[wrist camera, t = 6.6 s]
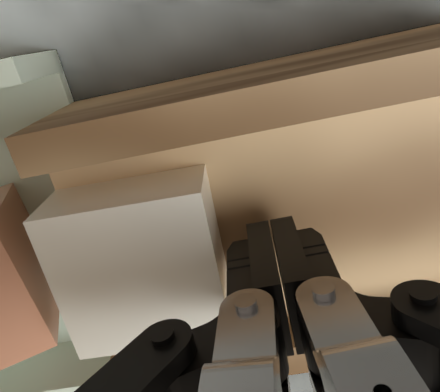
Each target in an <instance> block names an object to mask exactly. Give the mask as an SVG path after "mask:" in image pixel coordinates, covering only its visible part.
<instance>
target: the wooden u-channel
mask: <svg viewBox="0 0 440 392" xmlns="http://www.w3.org/2000/svg"><path fill="white" fill-rule="evenodd" d="M4 140H5V143H6V145H7V148H8V150H9V152H10V155H11V157H12V159H13V162H14V164H15V166H16V169H17V171H18V173H19V176H20V178H21V179H24V178H29V177H34V176H39V175H44V174H49V175H50V178H51V180H52V183H53V185H54V188H55V190H58V189H64V188H69V187H75V186H81V185H87V184H93V183H98V182H104V181H110V180H116V179H121V178H127V177H133V176H139V175H144V174H150V173H156V172H162V171H168V170H173V169H179V168H185V167H191V166H196V165H202V164H205V166H206V171H207V175H208V180H209V185H210V190H211V194H212V199H213V204H214V209H215V213H216V218H217V223H218V228H219V232H220V237H221V242H222V247H223V252H224V256H225V261H226V266H227V250H228V248H229V247H230V245H231V244H232V242H234V241H239V240H245V239H248V238H247V228H246V224H250V223H255V222H260V221H266V220H268V223H269V228H270V232H271V237H272V242H273V247H274V252H275V256H276V251H275V246H274V240H273V235H272V229H271V224H270V220H271V219H276V218H282V217H287V216H292V217H293V220H294V223H295V226H296V229H297V230H300V229H306V228H313V229H314V230H316V231H317V232H319V233H320V234H322V237H323V239H324V241H325V243H326V245H327V248H328V250H329V253H330V254H331V257H332V259H333V261H334V263H335V266H336V268H337V270H338V272H339V274H340V277H341V279H342V280H344V281H346V282H347V283H348V284H350V286H351V287H352V289H353V290H354V292H357V293H359V294H363V295H367V296H375V297H390V293H391V291H392V289H393V288H394V287H395V286H397V285H398V284H400V283H402V282H405V281H409V280H430V281H434V282H438V283H440V24H435V25H430V26H426V27H421V28H416V29H411V30H407V31H402V32H397V33H393V34H388V35H383V36H379V37H374V38H369V39H365V40H360V41H355V42H351V43H346V44H341V45H337V46H332V47H327V48H323V49H318V50H313V51H309V52H304V53H299V54H295V55H290V56H285V57H281V58H276V59H271V60H267V61H262V62H257V63H253V64H248V65H243V66H239V67H234V68H229V69H225V70H220V71H215V72H211V73H206V74H201V75H197V76H192V77H187V78H183V79H178V80H173V81H169V82H164V83H159V84H155V85H150V86H145V87H141V88H136V89H131V90H127V91H122V92H117V93H113V94H108V95H103V96H99V97H94V98H89V99H85V100H80V101H75V102H73V103H71V104H69V105H67V106H65V107H63V108H61V109H59V110H57V111H55V112H54V113H52V114H50V115H48V116H46V117H44V118H42V119H40V120H38V121H36V122H34V123H33V124H31V125H29V126H27V127H25V128H23V129H21V130H19V131H17V132H15V133H13V134H11V135H10V136H8V137H6V138H4ZM276 261H277V256H276ZM277 266H278V262H277ZM278 271H279V267H278ZM279 275H280V272H279ZM280 280H281V277H280ZM281 285H282V282H281ZM282 291H283V287H282ZM283 296H284V292H283ZM284 301H285V296H284ZM285 307H286V312H287V318H288V323H289V328H290V334H291V339H292V345H293V350H294V355H293V356H287V358H288V363H289V374H288V375H293V374H300V373H307V372H308V366H307V361H306V357H305V354H299V355H297V353H296V348H295V343H294V339H293V334H292V329H291V325H290V320H289V315H288V310H287V306H286V301H285ZM114 356H115V355H112V356H111V358H110V360H111V359H112V358H113V357H114Z"/></svg>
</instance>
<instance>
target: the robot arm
mask: <svg viewBox="0 0 440 392" xmlns="http://www.w3.org/2000/svg"><path fill="white" fill-rule="evenodd" d="M270 224H271V229H272V235H273V240H274V246H275V251H276V256H277V261H276V256H275V252H274V247H273V242H272V237H271V232H270V228H269V223H268V220H266V221H260V222H255V223H250V224H246V228H247V238H248V239H245V240H239V241H234V242H232V244H231V245H230V247H229V248H228V250H227V297H226V298H225V299H224V300H223V301H222V303H221V305H220V308H219V314H218V316H217V317H216V318H214V319H213V320H211V321H210V322H208V323H206V324H203V325H201V326H198V327H196V328H193V329H191V327H190V325H189V324H188V323H187V322H185V321H183V320H180V319H166V320H162V321H159V322H156V323H154V324H152V325H151V326H149V327H148V328H147V329H145V330H144V331H143V332H142V333H141V334H139V335H138V336H137V337H136V338H135V339H134V340H133V341H131V342H130V343H129V344H128V345H127V346H126V347H125V348H123V349H122V350H121V351H120V352H119V353H118V354H116V355H115V356H114V357H113V358H112V359H111V360H110V361H108V362H107V363H106V364H105V365H104V366H103V367H102V368H100V369H99V370H98V371H97V372H96V373H95V374H94V375H92V376H91V377H90V378H89V379H88V380H87V381H85V382H84V383H83V384H82V385H81V386H80V387H79V388H77V389H76V390H75V391H74V392H290V382H289V377H288V374H289V363H288V358H287V356H293V355H294V350H293V345H292V339H291V334H290V328H289V323H288V318H287V312H286V307H285V301H286V306H287V310H288V315H289V320H290V325H291V329H292V334H293V339H294V343H295V348H296V353H297V355H299V354H305V357H306V361H307V366H308V372H309V377H310V382H311V385H312V388H313V391H314V392H440V283H438V282H434V281H430V280H409V281H405V282H402V283H400V284H398V285H397V286H395V287H394V288H393V289H392V291H391V293H390V297H375V296H367V295H363V294H359V293H357V292H354V290H353V289H352V287H351V286H350V284H348V283H347V282H346V281H344V280H342V279H341V277H340V274H339V272H338V270H337V268H336V266H335V263H334V261H333V259H332V257H331V254H330V253H329V250H328V248H327V245H326V243H325V241H324V239H323V237H322V234H320V233H319V232H317V231H316V230H314V229H313V228H306V229H300V230H297V229H296V226H295V223H294V220H293V217H292V216H287V217H282V218H276V219H271V220H270ZM277 262H278V266H277ZM278 267H279V271H278ZM279 272H280V275H279ZM280 277H281V280H280ZM281 282H282V285H281ZM282 287H283V291H282ZM283 292H284V296H285V301H284V296H283Z"/></svg>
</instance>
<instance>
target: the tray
mask: <svg viewBox="0 0 440 392" xmlns="http://www.w3.org/2000/svg"><path fill="white" fill-rule="evenodd" d="M73 102H74V100H73V97H72V94H71V91H70V88H69V85H68V83H67V80H66V77H65V74H64V71H63V68H62V65H61V62H60V59H59V56H58V53H57V50H51V51H44V52H38V53H32V54H26V55H19V56H13V57H8V58H4V59H0V187H1V186H4V185H7V184H10V183H14V185H15V187H16V189H17V191H18V193H19V195H20V197H21V199H22V201H23V203H24V205H25V207H26V209H27V211H28V213H29V215H31V214H32V213H33V212H34V211H35V210H36V209H37V208H38V207H39V206H40V205H41V204H42V203H43V202H44V201H45V200H46V199H47V198H48V197H49V196H50V195H51V194H52V193H53V192H54V191H55V188H54V185H53V183H52V180H51V178H50V175H49V174H44V175H39V176H34V177H29V178H24V179H21V178H20V176H19V173H18V171H17V169H16V166H15V164H14V162H13V159H12V157H11V155H10V152H9V150H8V148H7V145H6V143H5V140H4V138H6V137H8V136H10V135H11V134H13V133H15V132H17V131H19V130H21V129H23V128H25V127H27V126H29V125H31V124H33V123H34V122H36V121H38V120H40V119H42V118H44V117H46V116H48V115H50V114H52V113H54V112H55V111H57V110H59V109H61V108H63V107H65V106H67V105H69V104H71V103H73ZM110 358H111V356H104V357H97V358H90V359H82V360H80V359H79V357H78V355H77V352H76V350H75V347H74V345H73V343H72V340H71V338H70V335H69V333H68V331H67V328H66V326H65V323H64V321H63V319H62V316H61V314H60V312H59V329H58V346H55V347H53V348H51V349H48V350H46V351H44V352H42V353H39V354H37V355H35V356H32V357H30V358H28V359H26V360H23V361H21V362H19V363H16V364H14V365H12V366H10V367H7V368H5V369H3V370H0V392H74V391H75V390H76V389H77V388H79V387H80V386H81V385H82V384H83V383H84V382H85V381H87V380H88V379H89V378H90V377H91V376H92V375H94V374H95V373H96V372H97V371H98V370H99V369H100V368H102V367H103V366H104V365H105V364H106V363H107V362H108V361H110Z"/></svg>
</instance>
